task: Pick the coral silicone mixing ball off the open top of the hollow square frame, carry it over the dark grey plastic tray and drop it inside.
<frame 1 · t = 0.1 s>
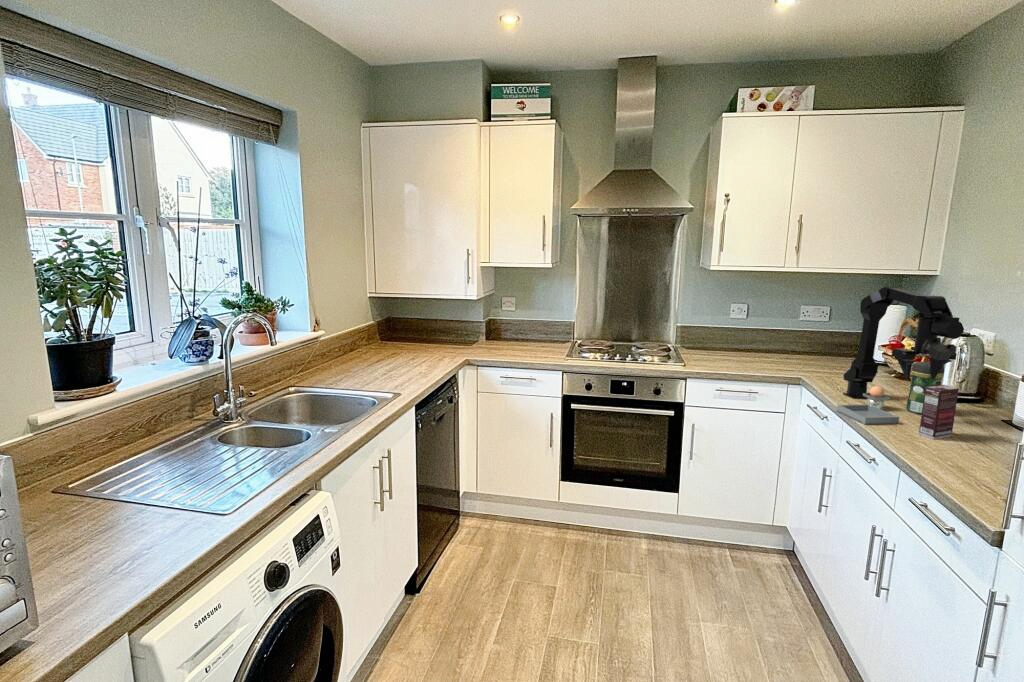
hand: (919, 378, 184), 15 cm above the worktop, fingers open, 9 cm apart
coffee jar: (921, 412, 196), on the worktop
tray: (866, 417, 188), on the worktop
hollow square frame: (874, 408, 199), on the worktop
supplement box: (934, 436, 172), on the worktop
ball: (876, 397, 198), point 4 cm above the worktop, touching hollow square frame
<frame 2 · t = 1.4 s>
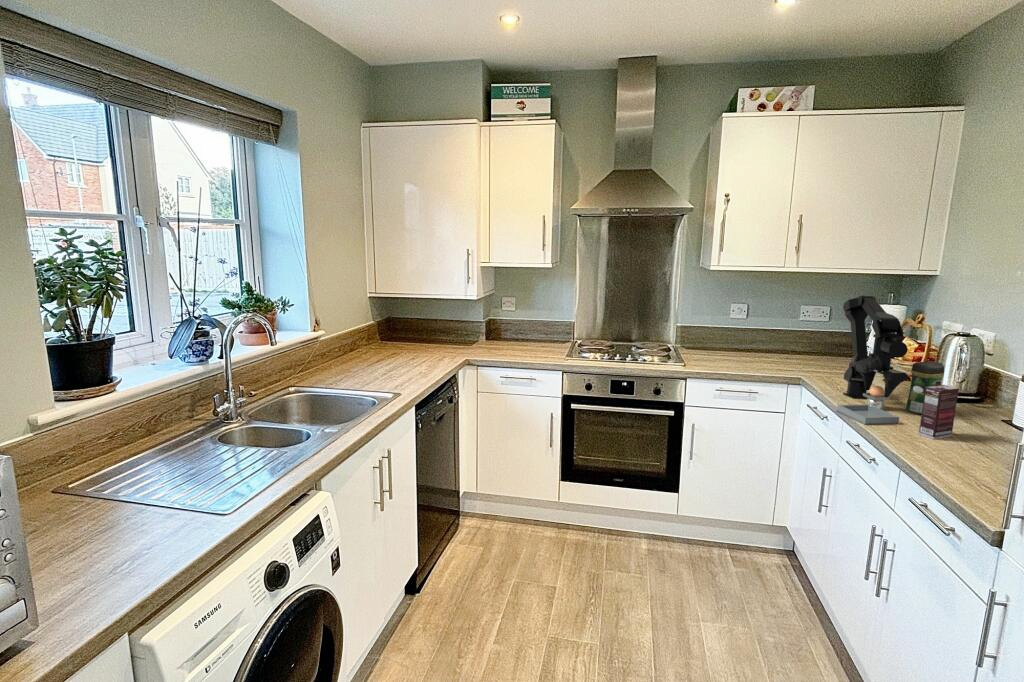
hand: (876, 393, 198), 6 cm above the worktop, fingers open, 9 cm apart
nothing on the worktop moved.
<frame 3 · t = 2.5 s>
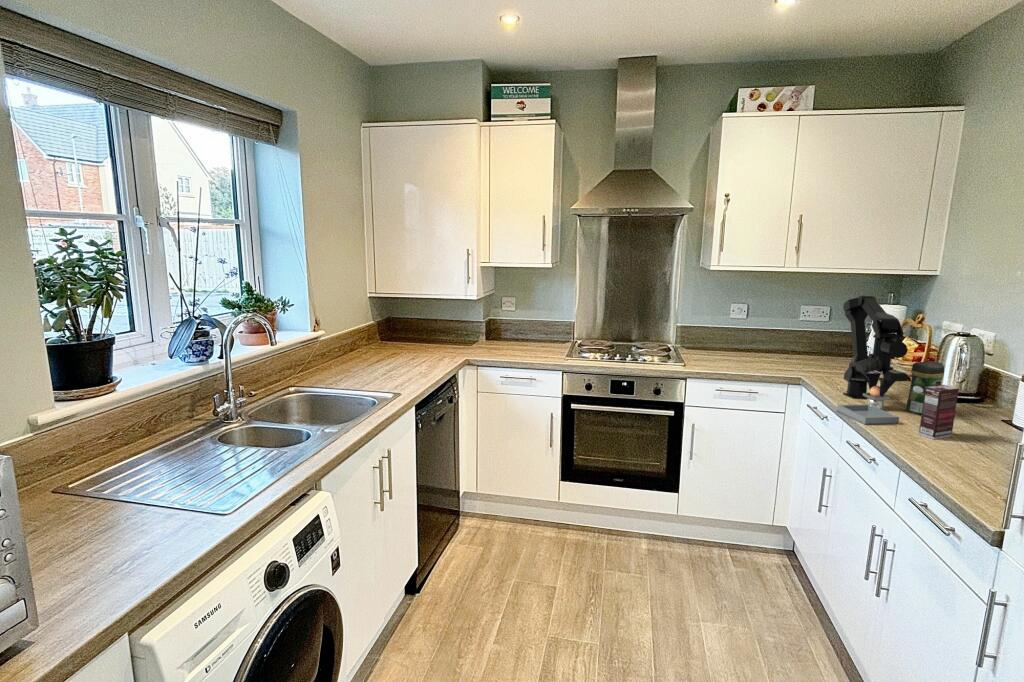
hand: (876, 394, 198), 5 cm above the worktop, fingers closed on ball, 4 cm apart
ball: (876, 397, 198), point 4 cm above the worktop, touching gripper, hollow square frame
everything else where it was.
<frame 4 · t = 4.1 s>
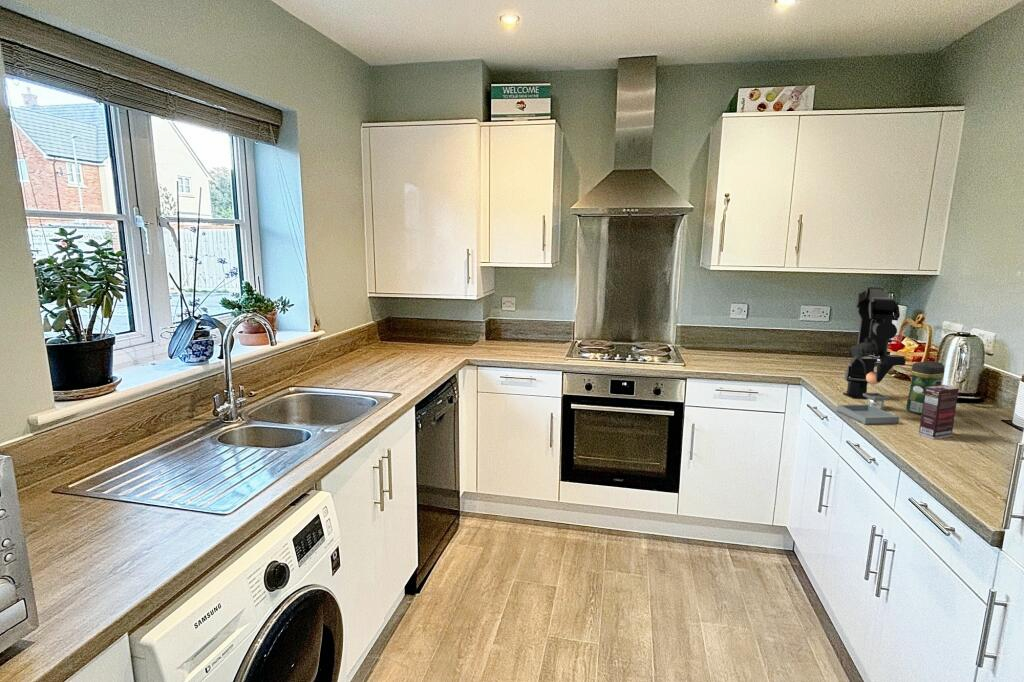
hand: (873, 380, 187), 13 cm above the worktop, fingers closed on ball, 4 cm apart
ball: (872, 384, 187), point 12 cm above the worktop, touching gripper
everything else where it was.
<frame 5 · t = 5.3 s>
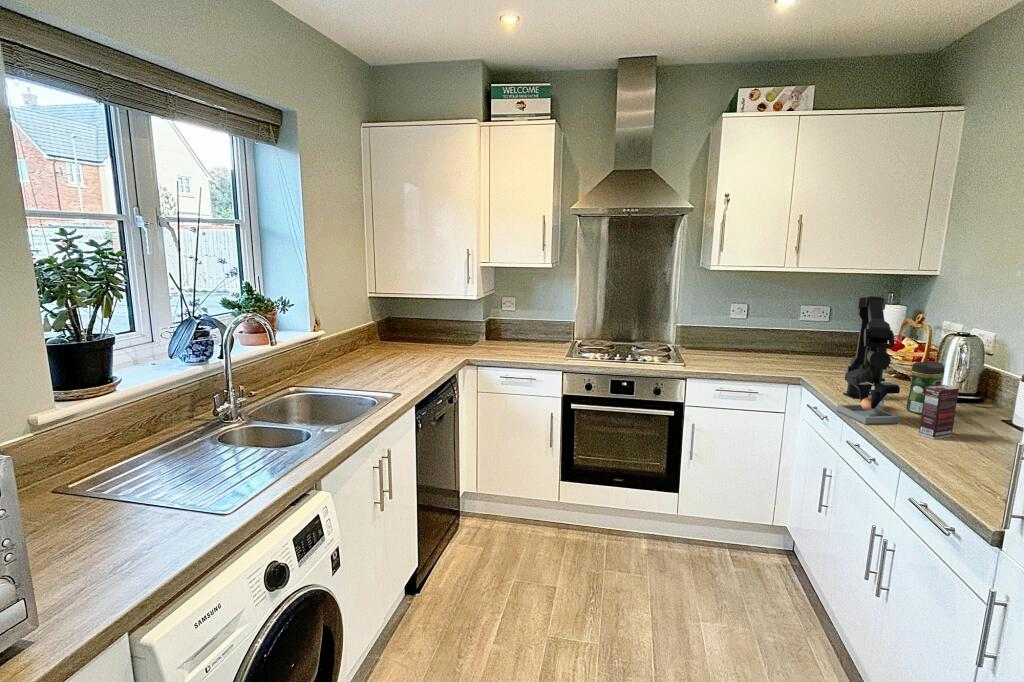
hand: (867, 406, 188), 4 cm above the worktop, fingers closed on ball, 4 cm apart
ball: (867, 410, 188), point 3 cm above the worktop, touching gripper
everything else where it was.
when the fingers open (4 cm above the worktop, at t = 5.9 s): ball drops 2 cm, resting on tray.
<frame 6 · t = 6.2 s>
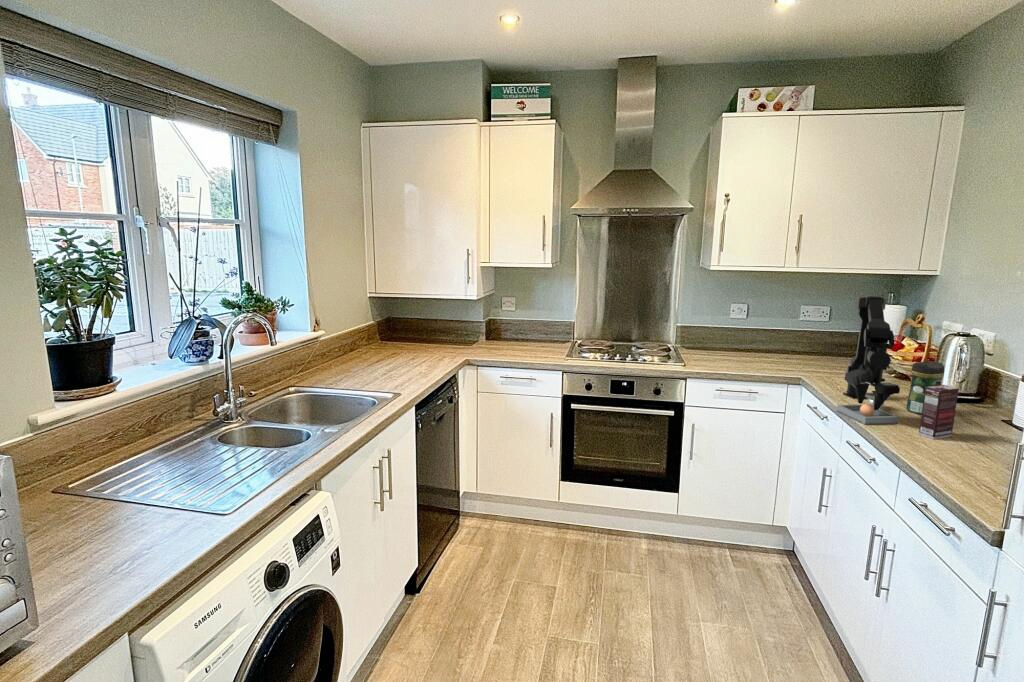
hand: (867, 406, 188), 4 cm above the worktop, fingers open, 7 cm apart
ball: (866, 416, 188), point 1 cm above the worktop, touching tray
everything else where it was.
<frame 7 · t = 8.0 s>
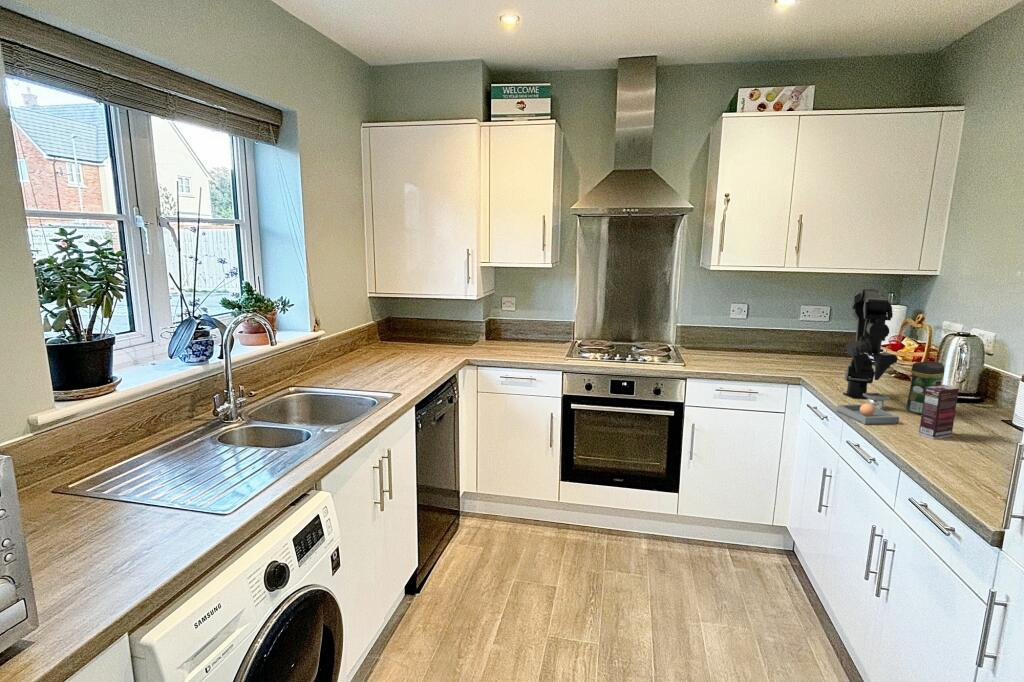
hand: (867, 376, 197), 12 cm above the worktop, fingers open, 9 cm apart
nothing on the worktop moved.
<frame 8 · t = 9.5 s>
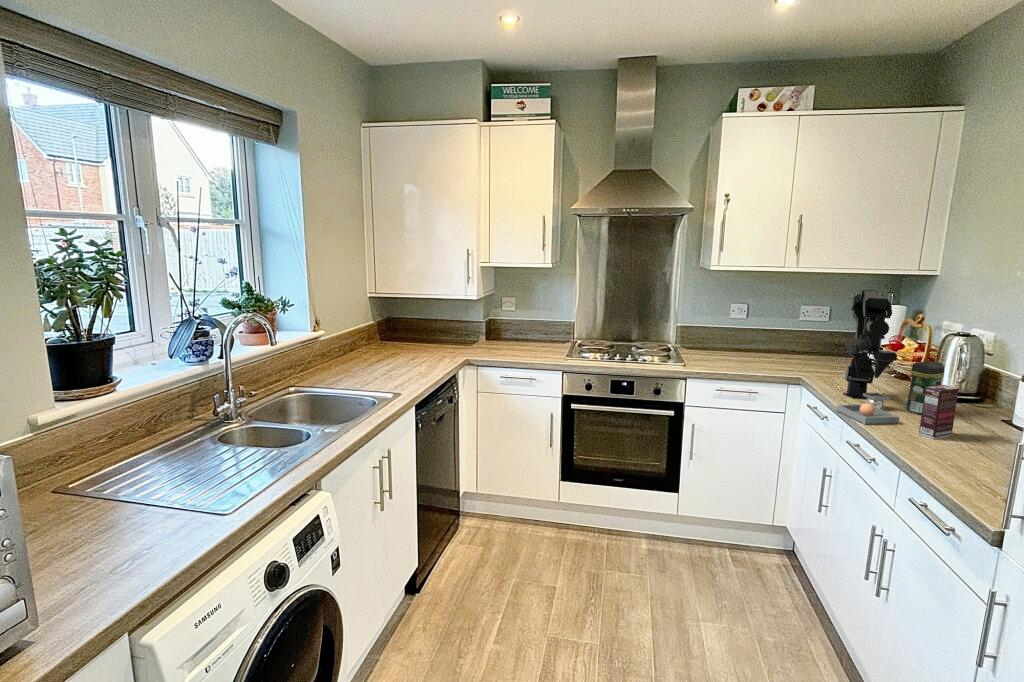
hand: (866, 374, 197), 13 cm above the worktop, fingers open, 9 cm apart
nothing on the worktop moved.
at the end: ball inside the target area on the tray (0.0 cm from its centre), point 0.6 cm above the tray's base; the gripper is holding nothing; ball touching tray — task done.
